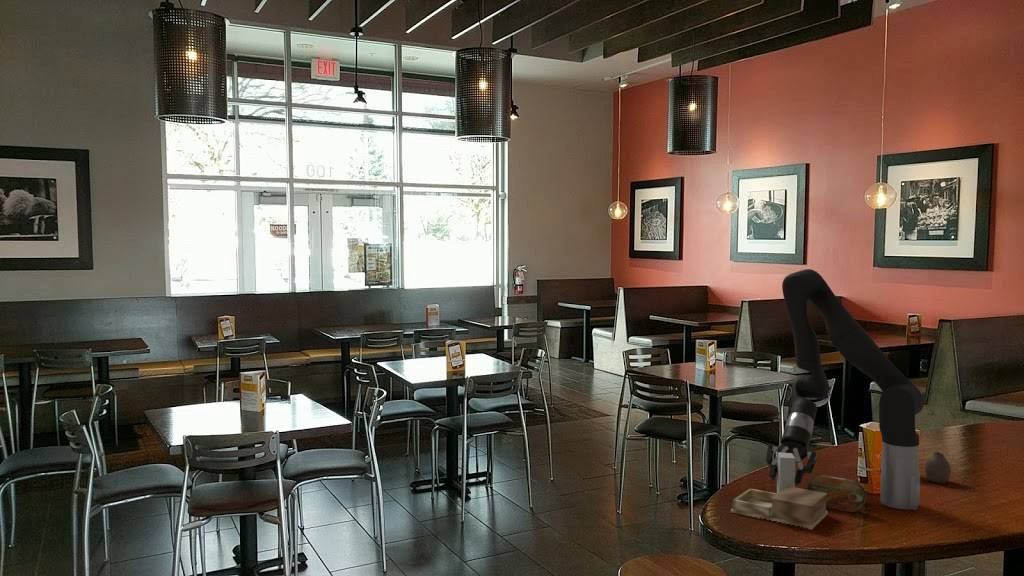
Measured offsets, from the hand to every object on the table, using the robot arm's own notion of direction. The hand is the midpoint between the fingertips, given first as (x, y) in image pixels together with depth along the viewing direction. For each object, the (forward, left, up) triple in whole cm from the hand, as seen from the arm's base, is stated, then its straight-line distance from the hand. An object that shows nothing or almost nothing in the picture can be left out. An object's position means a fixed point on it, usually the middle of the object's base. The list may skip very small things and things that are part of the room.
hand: (784, 481), depth 216 cm
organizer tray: (-3, +13, -5) cm, 14 cm away
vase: (-32, -44, -5) cm, 54 cm away
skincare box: (0, -2, -5) cm, 5 cm away
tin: (-14, -1, -5) cm, 15 cm away
